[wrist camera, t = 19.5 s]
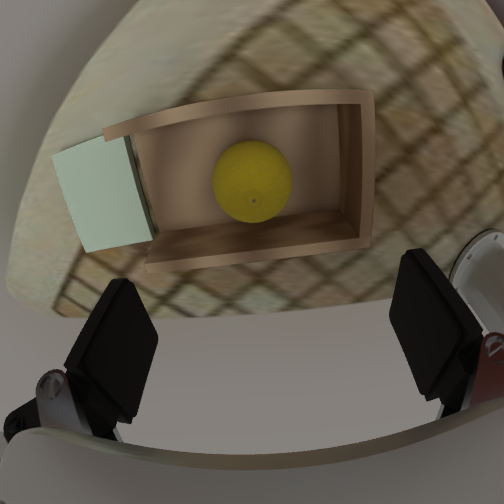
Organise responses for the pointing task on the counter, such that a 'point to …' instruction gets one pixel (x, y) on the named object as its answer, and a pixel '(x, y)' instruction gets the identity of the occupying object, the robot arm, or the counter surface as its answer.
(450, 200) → the counter surface
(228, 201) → the lemon
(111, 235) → the panel
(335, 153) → the crate
